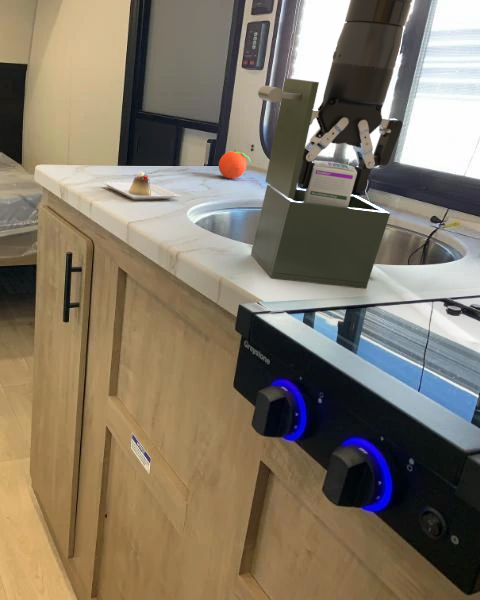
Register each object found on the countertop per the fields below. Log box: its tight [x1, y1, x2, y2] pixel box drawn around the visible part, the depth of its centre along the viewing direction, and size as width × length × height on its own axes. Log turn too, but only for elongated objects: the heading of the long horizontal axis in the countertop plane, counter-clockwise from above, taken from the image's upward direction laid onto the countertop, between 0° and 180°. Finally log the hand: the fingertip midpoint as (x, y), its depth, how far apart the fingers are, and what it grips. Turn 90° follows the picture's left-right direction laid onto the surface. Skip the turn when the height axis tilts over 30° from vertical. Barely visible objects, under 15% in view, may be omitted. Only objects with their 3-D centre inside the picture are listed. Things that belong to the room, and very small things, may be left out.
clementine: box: [218, 150, 252, 180], centre depth 153 cm, size 8×7×7 cm
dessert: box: [101, 170, 181, 201], centre depth 123 cm, size 12×12×5 cm
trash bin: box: [250, 184, 391, 289], centre depth 86 cm, size 14×11×11 cm
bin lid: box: [257, 77, 320, 198], centre depth 81 cm, size 14×11×5 cm
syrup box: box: [303, 159, 357, 207], centre depth 85 cm, size 6×6×14 cm
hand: (328, 190), depth 83 cm, fingers closed on syrup box, 7 cm apart
